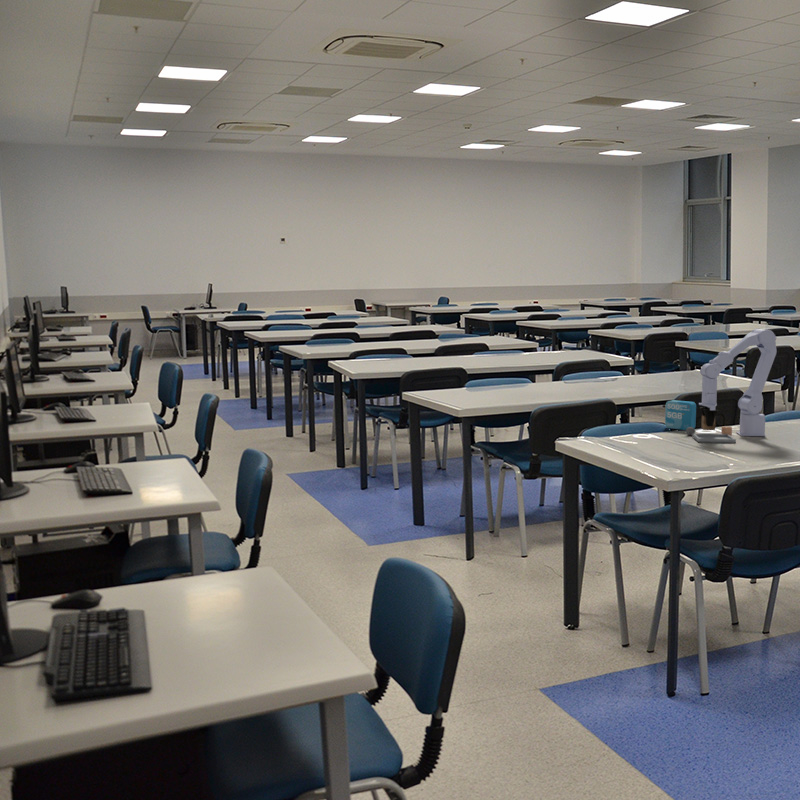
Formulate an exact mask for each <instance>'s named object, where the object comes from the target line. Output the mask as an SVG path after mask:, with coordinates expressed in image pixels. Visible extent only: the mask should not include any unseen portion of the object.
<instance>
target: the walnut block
mask: <svg viewBox="0 0 800 800" xmlns="http://www.w3.org/2000/svg"><path fill="white" fill-rule="evenodd" d="M700 427H701V430H702V431H715V430H716V418H715V419H714V423H713V426H707V424H706V416H705V415H701V426H700Z"/></svg>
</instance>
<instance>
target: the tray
mask: <svg viewBox="0 0 800 800" xmlns="http://www.w3.org/2000/svg"><path fill="white" fill-rule="evenodd" d="M692 439H694V440H695V441H696V442H697V443H701V444H703V443H704V444H706V443H707V444H709V443H710V444H716V443H717V444H737V443H736V442H737V441H736V440H737V439H736V438H735V437H733V436H730V435H729V434H721V433H694V434H693V435H692Z"/></svg>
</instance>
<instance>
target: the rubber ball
mask: <svg viewBox="0 0 800 800" xmlns="http://www.w3.org/2000/svg"><path fill="white" fill-rule="evenodd" d="M695 431H696V430H695V428H693V427H688V428H687V429H686V430H685V433H686V434H687V435H688V436H693V434H696V433H695Z"/></svg>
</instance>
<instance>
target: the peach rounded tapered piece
mask: <svg viewBox="0 0 800 800" xmlns="http://www.w3.org/2000/svg"><path fill="white" fill-rule="evenodd" d="M720 434H729V435H730V436H732V435H733V427H732V426H726V425H724V426H721V433H720ZM732 437H733V436H732Z"/></svg>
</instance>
